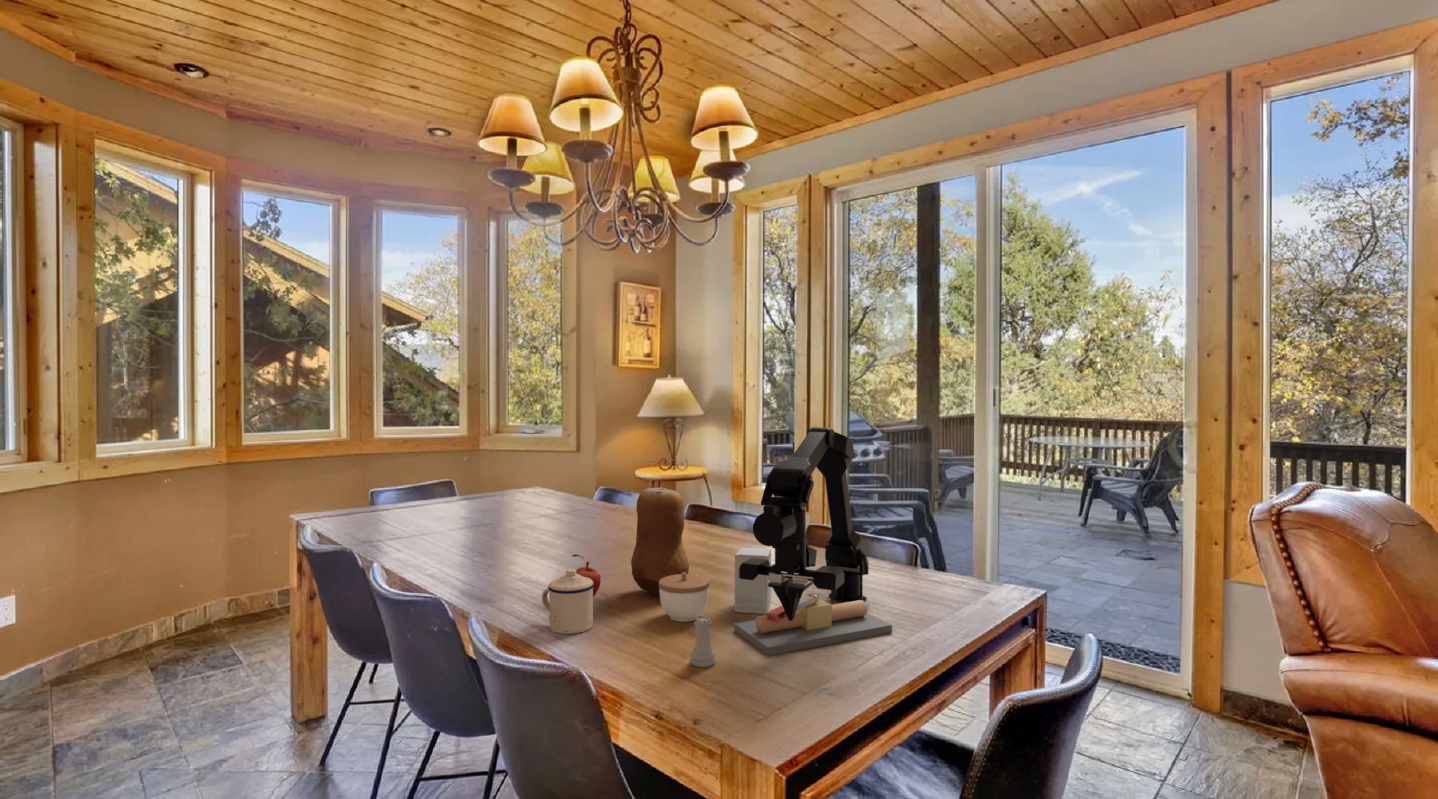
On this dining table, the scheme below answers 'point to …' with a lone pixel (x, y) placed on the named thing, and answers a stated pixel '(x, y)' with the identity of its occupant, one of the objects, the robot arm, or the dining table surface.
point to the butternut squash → (658, 538)
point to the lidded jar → (684, 596)
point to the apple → (589, 575)
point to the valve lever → (780, 613)
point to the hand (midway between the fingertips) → (791, 620)
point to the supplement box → (752, 584)
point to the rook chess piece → (703, 644)
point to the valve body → (813, 627)
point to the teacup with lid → (570, 603)
